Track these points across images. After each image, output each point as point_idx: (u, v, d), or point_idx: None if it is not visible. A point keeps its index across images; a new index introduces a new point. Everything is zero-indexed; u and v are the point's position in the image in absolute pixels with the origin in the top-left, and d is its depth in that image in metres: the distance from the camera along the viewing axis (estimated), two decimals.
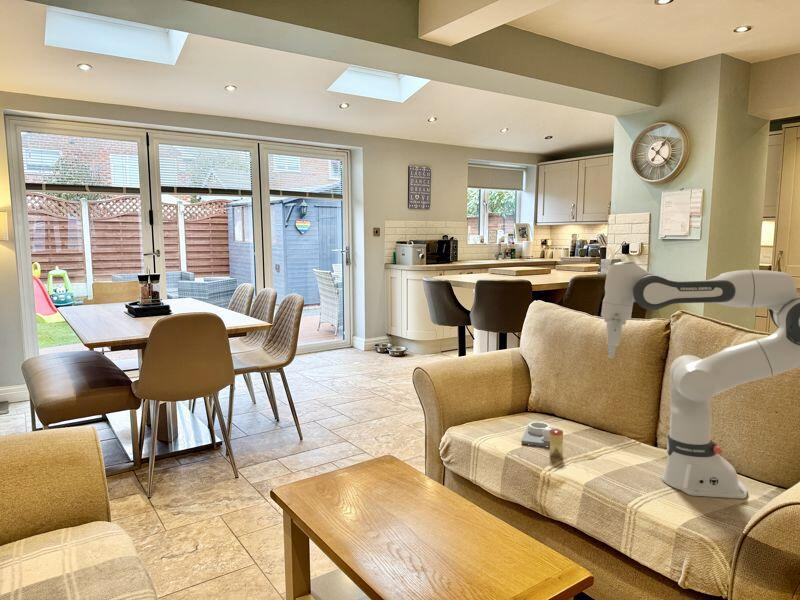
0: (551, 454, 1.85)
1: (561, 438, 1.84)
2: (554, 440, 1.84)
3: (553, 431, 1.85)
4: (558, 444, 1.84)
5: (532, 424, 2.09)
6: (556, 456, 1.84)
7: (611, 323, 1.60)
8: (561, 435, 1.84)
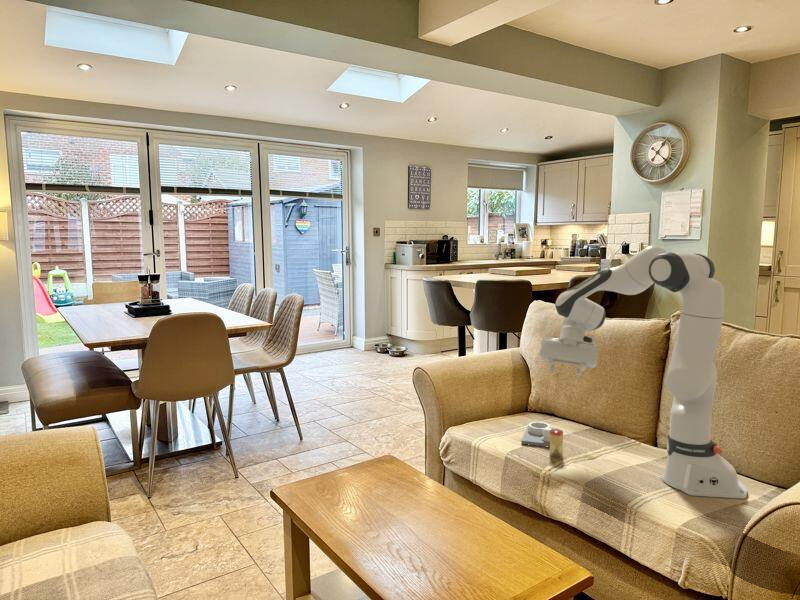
0: (551, 454, 1.85)
1: (561, 438, 1.84)
2: (554, 440, 1.84)
3: (553, 431, 1.85)
4: (558, 444, 1.84)
5: (532, 424, 2.09)
6: (556, 456, 1.84)
7: None
8: (561, 435, 1.84)
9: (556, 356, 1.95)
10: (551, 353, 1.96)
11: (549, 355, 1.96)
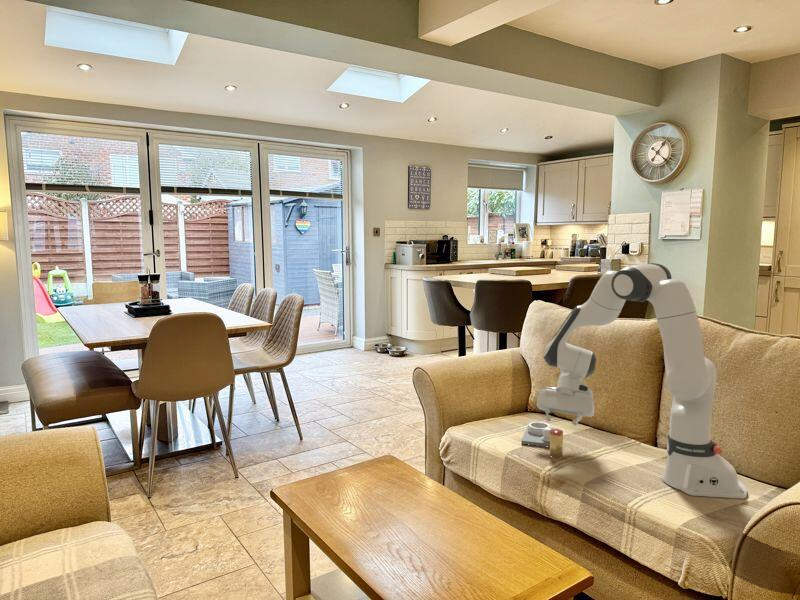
0: (551, 454, 1.85)
1: (561, 438, 1.84)
2: (554, 440, 1.84)
3: (553, 431, 1.85)
4: (558, 444, 1.84)
5: (532, 424, 2.09)
6: (556, 456, 1.84)
7: None
8: (561, 435, 1.84)
9: (552, 406, 1.94)
10: (548, 402, 1.96)
11: (545, 405, 1.96)
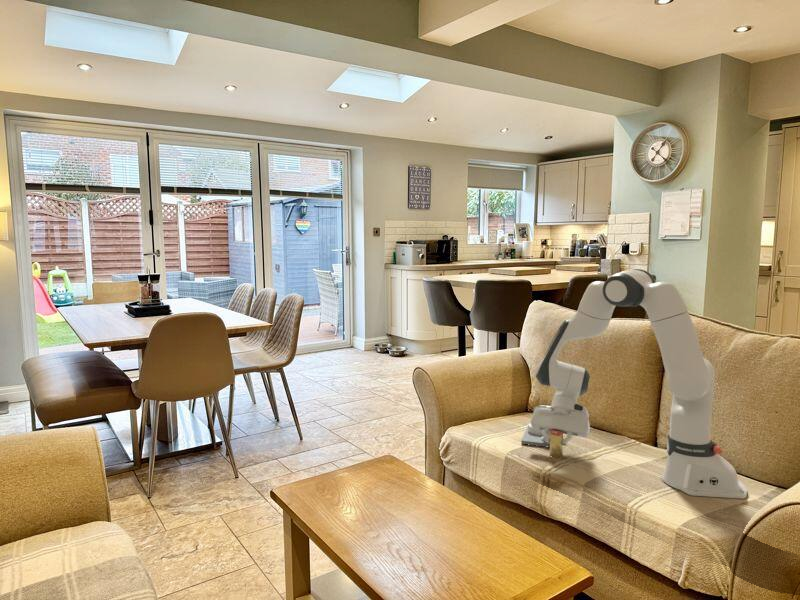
0: (551, 454, 1.85)
1: (561, 438, 1.84)
2: (554, 440, 1.84)
3: (553, 431, 1.85)
4: (558, 444, 1.84)
5: None
6: (556, 456, 1.84)
7: None
8: (561, 435, 1.84)
9: (547, 426, 1.89)
10: (542, 422, 1.90)
11: (540, 425, 1.90)
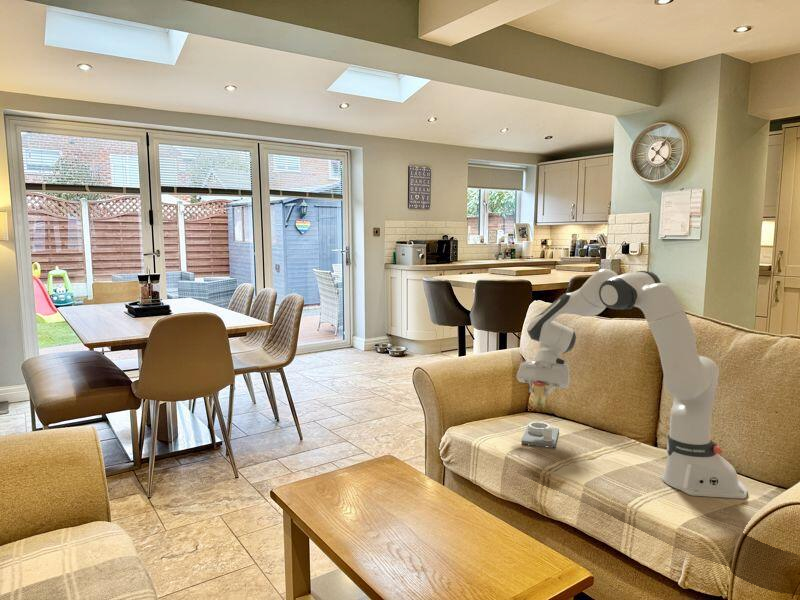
0: (534, 403, 2.03)
1: (544, 389, 2.02)
2: (537, 390, 2.02)
3: (536, 382, 2.03)
4: (540, 394, 2.02)
5: (532, 424, 2.09)
6: (539, 405, 2.02)
7: None
8: (544, 386, 2.02)
9: (531, 378, 2.07)
10: (527, 375, 2.08)
11: (524, 377, 2.08)
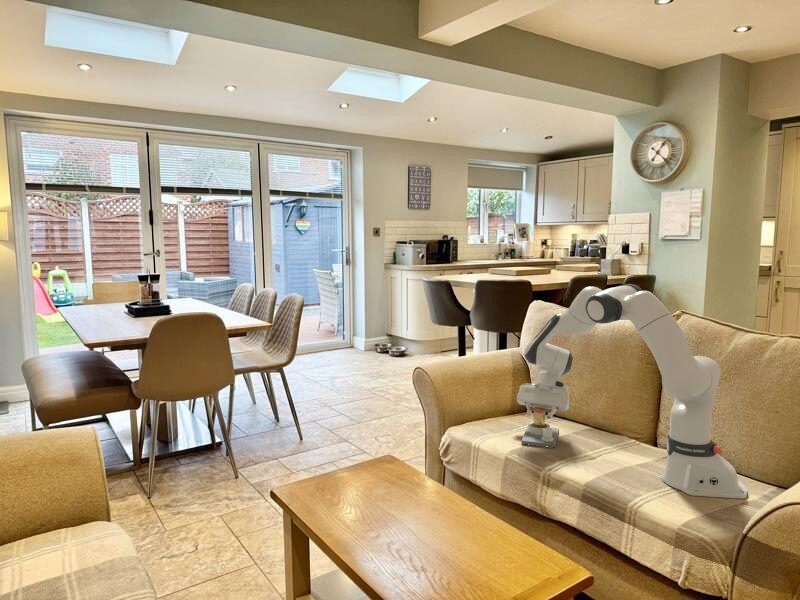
0: None
1: (544, 415, 2.04)
2: (537, 417, 2.04)
3: (536, 409, 2.05)
4: (540, 420, 2.04)
5: (532, 424, 2.09)
6: None
7: None
8: (543, 412, 2.04)
9: (531, 401, 2.09)
10: (527, 398, 2.11)
11: (524, 400, 2.10)
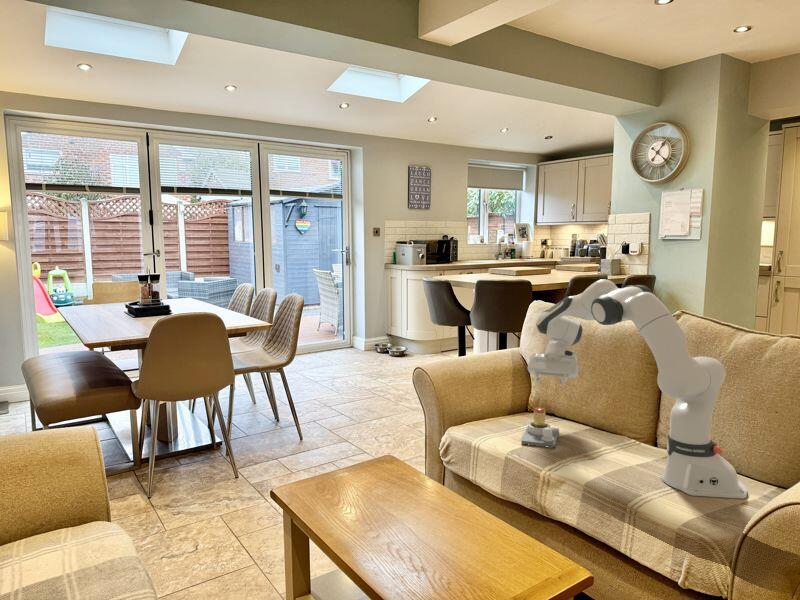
0: None
1: (544, 415, 2.04)
2: (537, 417, 2.04)
3: (536, 409, 2.05)
4: (541, 420, 2.04)
5: (532, 424, 2.09)
6: None
7: None
8: (543, 412, 2.04)
9: (541, 369, 2.19)
10: (537, 366, 2.20)
11: (535, 369, 2.20)
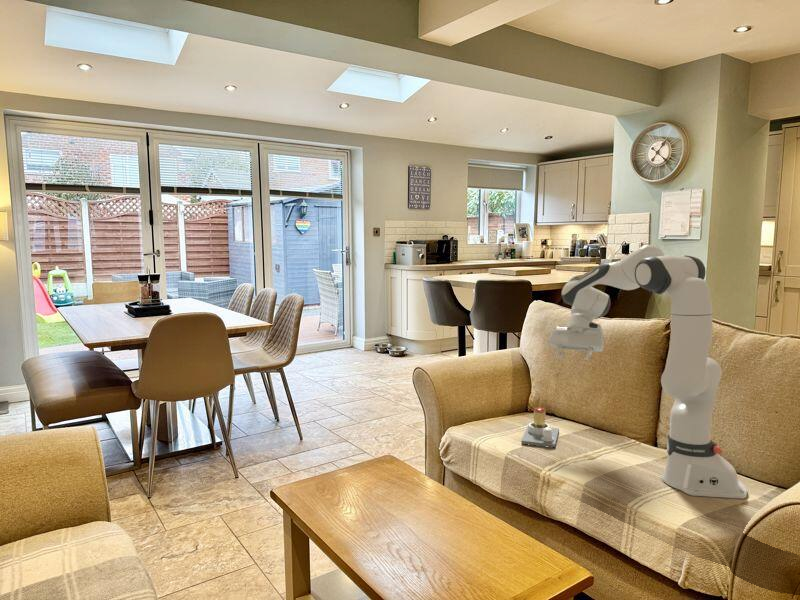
0: None
1: (544, 415, 2.04)
2: (537, 417, 2.04)
3: (536, 409, 2.05)
4: (541, 420, 2.04)
5: (532, 424, 2.09)
6: None
7: None
8: (543, 412, 2.04)
9: (564, 343, 2.03)
10: (559, 340, 2.05)
11: (557, 342, 2.05)
